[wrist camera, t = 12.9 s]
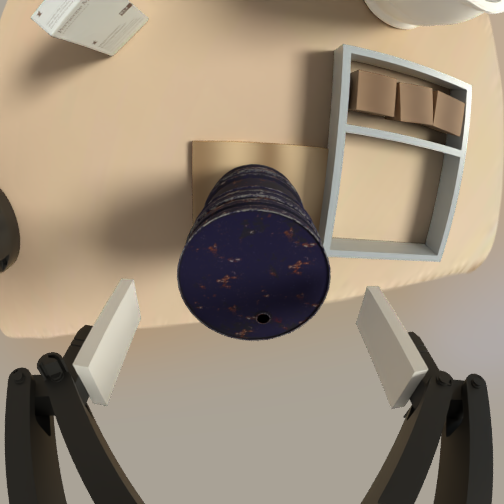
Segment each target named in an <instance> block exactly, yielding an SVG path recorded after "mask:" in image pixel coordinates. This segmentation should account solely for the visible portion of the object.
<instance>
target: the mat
mask: <svg viewBox="0 0 504 504" xmlns="http://www.w3.org/2000/svg"><path fill="white" fill-rule="evenodd" d="M328 151H329V149H328V148H320V147H311V146H300V145H289V144H276V143H260V142H238V141H192V204H193V225H194V223H195V220H196V218H197V217H198V215H199V214H200V212H201V211H202V209H203V208H204V205H205V202H206V200H207V197H208V195H209V193H210V192H211V190H212V189H213V187H214V186H215V185H216V183H217V182H218V181H219V179H220V178H221V177H222V176H223V175H224V174H226V173H227V172H229V171H230V170H232V169H234V168H236V167H239V166H242V165H248V164H260V165H266V166H269V167H271V168H274V169H276V170H277V171H279V172H281V173H282V174H283V175H284V176H285V177H286V178H287V179H288V180H289V181H290V182H291V184H292V185H293V186H294V188H295V189H296V191H297V192H298V194H299V196H300V198H301V200H302V203H303V207H304V209H305V210H306V211H307V213H308V214H309V216H310V217H311V219H312V221H313V224H314V225H315V227H316V229H317V231H318V232H319V225H320V218H321V210H322V203H323V195H324V187H325V178H326V170H327V160H328Z"/></svg>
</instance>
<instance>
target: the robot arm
mask: <svg viewBox="0 0 504 504" xmlns="http://www.w3.org/2000/svg"><path fill="white" fill-rule="evenodd" d="M19 248H20V236H19V229H18V224H17V220H16V217H15V214H14V211H13V209H12V206H11V204H10V202H9V200H8V199H7V197H6V196H5V194H4V193H3V192H2V190H1V189H0V273H2V272H4V271H5V270H7V269H8V268H9V267H10V266H11V265H12V264H13V263H14V262H15V261H16V259H17V257H18V254H19ZM140 319H141V315H140V310H139V305H138V300H137V294H136V289H135V283H134V279H123V278H121V280H120V282H119V283H118V285H117V286H116V288H115V290H114V291H113V293H112V295H111V296H110V298H109V300H108V301H107V303H106V305H105V306H104V308H103V310H102V311H101V313H100V315H99V317H98V318H97V320H96V322H95V324H94V325H93V326H89V325H85V326H84V327H82V328H81V329H80V330H79V331H78V332H77V334H76V336H75V337H74V340H73V341H72V343H71V346H69V348H68V350H67V352H66V353H65V355H64V357H63V358H62V356H61V355H59V354H58V353H54V352H51V353H47V354H45V355H43V356H42V357H41V358H40V359H39V361H38V363H37V369H38V370H39V372H40V374H41V375H31V373H30V372H29V370H28V369H26V368H18V369H15V370H14V371H13V372H12V373H11V374H10V376H9V379H8V388H7V399H6V414H5V462H6V463H5V464H6V478H7V488H8V496H9V504H67V503H66V499H65V494H64V489H63V484H62V479H61V474H60V468H59V462H58V455H57V447H56V439H55V428H54V416H56V419H57V422H58V425H59V427H60V430H61V433H62V435H63V438H64V440H65V443H66V445H67V448H68V450H69V452H70V455H71V457H72V459H73V462H74V464H75V465H76V468H77V470H78V472H79V474H80V477H81V478H82V481H83V483H84V485H85V486H86V488H87V490H88V492H89V494H90V496H91V498H92V500H93V501H94V503H95V504H145V503H144V502H143V501H142V499H141V498H140V496H139V495H138V493H137V492H136V490H135V489H134V487H133V486H132V484H131V483H130V481H129V480H128V478H127V477H126V475H125V473H124V472H123V470H122V468H121V467H120V465H119V463H118V462H117V460H116V459H115V457H114V455H113V453H112V452H111V450H110V448H109V446H108V444H107V442H106V440H105V439H104V437H103V435H102V433H101V431H100V429H99V427H98V425H97V423H96V421H95V419H94V417H93V415H92V412H91V410H90V408H89V406H88V404H87V400H88V398H89V397H90V399H91V400H92V402H93V403H95V404H100V405H104V406H108V403H109V400H110V397H111V394H112V392H113V389H114V386H115V383H116V380H117V378H118V375H119V372H120V370H121V367H122V364H123V361H124V359H125V357H126V354H127V351H128V349H129V346H130V344H131V341H132V339H133V336H134V334H135V331H136V329H137V327H138V324H139V322H140ZM356 325H357V327H358V329H359V331H360V333H361V336H362V338H363V340H364V343H365V345H366V347H367V349H368V352H369V354H370V357H371V359H372V362H373V364H374V366H375V369H376V371H377V374H378V376H379V378H380V381H381V383H382V386H383V388H384V391H385V393H386V396H387V399H388V401H389V404H390V406H391V409H393V408H399V407H404V406H405V405H406V403H407V402H408V400H409V399H410V401H411V403H412V406H411V407H410V408H409V410H408V411H407V413H406V414H405V415H404V418H405V417H406V418H405V421H404V423H403V425H402V427H401V430H400V432H399V434H398V436H397V438H396V441H395V443H394V445H393V447H392V449H391V451H390V453H389V455H388V457H387V459H386V461H385V463H384V464H383V466H382V468H381V470H380V472H379V474H378V475H377V477H376V479H375V481H374V482H373V484H372V486H371V488H370V489H369V491H368V493H367V494H366V496H365V498H364V499H363V501H362V502H361V504H414V502H415V501H416V498H417V496H418V494H419V492H420V490H421V487H422V485H423V483H424V480H425V478H426V475H427V473H428V470H429V468H430V465H431V463H432V460H433V457H434V454H435V451H436V449H437V446H438V443H439V439H440V436H441V449H440V462H439V471H438V479H437V486H436V493H435V499H434V504H491V502H492V487H493V444H492V428H491V417H490V407H489V400H488V392H487V387H486V382H485V381H484V379H483V378H482V377H481V376H479V375H477V374H470V375H469V376H468V377H467V378H466V380H465V381H461V380H453V378H452V377H451V376H450V375H449V374H448V373H446V372H444V371H439V369H438V368H437V366H436V364H435V362H434V360H433V359H432V357H431V355H430V354H429V352H428V350H427V349H426V347H425V346H424V344H423V342H422V340H421V339H420V337H418V336H417V335H416V334H415V333H414V332H407V331H406V329H405V328H404V326H403V324H402V323H401V321H400V319H399V318H398V316H397V314H396V313H395V311H394V310H393V308H392V306H391V305H390V303H389V302H388V300H387V299H386V297H385V295H384V294H383V292H382V291H381V289H380V288H379V286H367V288H366V292H365V295H364V299H363V302H362V306H361V309H360V312H359V315H358V318H357V321H356Z"/></svg>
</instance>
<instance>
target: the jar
mask: <svg viewBox="0 0 504 504" xmlns="http://www.w3.org/2000/svg"><path fill="white" fill-rule="evenodd" d="M364 1H365V3H366V4H367V6H368V7H369V9H370V10H371V11H372V12H373V13H374V14H375V15H376V16H377V17H378V18H379V19H381V20H382V21H383V22H385V23H387V24H389V25H391V26H393V27H396V28H399V29H413V28H416V27H418V26H435V25H451V24H457V23H461V22H465V21H468V20H470V19H473V18H475V17H477V16H479V15H481V14H482V13H488V14H496V13H502V12H504V0H364Z"/></svg>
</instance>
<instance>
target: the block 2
mask: <svg viewBox="0 0 504 504" xmlns="http://www.w3.org/2000/svg"><path fill="white" fill-rule="evenodd" d="M385 119H388V120H397V121H405V122H413V123H421V124H429V125H433V94H432V88H429V87H424V86H418V85H413V84H407V83H401V82H398V83H396V98H395V111H394V117H388V116H385Z"/></svg>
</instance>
